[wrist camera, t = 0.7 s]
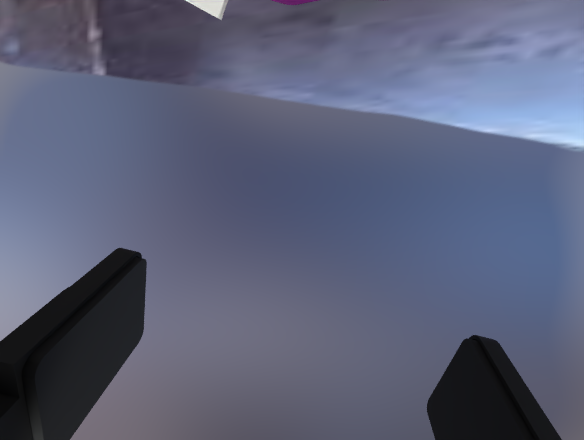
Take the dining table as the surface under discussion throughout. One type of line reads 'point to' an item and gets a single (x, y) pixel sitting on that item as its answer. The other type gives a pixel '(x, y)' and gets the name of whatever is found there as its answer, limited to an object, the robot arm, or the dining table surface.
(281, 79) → the dining table surface
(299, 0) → the mounting bracket
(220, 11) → the flange
